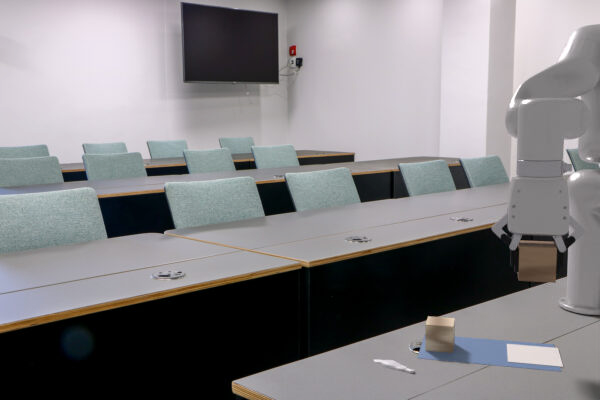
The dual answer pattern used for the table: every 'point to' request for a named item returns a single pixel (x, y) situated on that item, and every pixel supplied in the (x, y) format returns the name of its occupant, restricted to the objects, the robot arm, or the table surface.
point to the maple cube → (440, 334)
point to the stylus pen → (394, 365)
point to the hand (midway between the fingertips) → (536, 270)
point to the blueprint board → (499, 353)
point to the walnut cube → (537, 261)
